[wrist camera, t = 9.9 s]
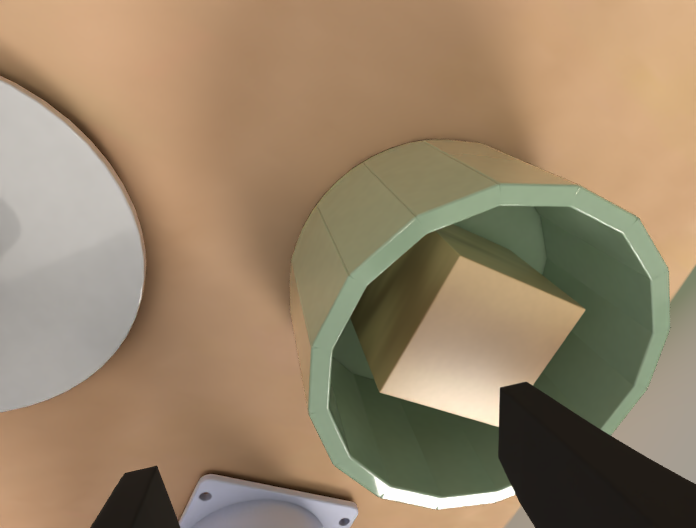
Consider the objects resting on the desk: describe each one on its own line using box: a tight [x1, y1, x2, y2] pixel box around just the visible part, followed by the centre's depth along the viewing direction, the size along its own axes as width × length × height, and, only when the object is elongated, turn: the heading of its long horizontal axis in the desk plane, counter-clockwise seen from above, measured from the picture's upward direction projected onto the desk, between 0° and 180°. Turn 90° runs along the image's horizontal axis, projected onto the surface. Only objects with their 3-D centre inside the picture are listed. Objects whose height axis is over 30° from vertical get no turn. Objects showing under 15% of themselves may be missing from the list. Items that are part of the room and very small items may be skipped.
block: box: [350, 224, 586, 427], centre depth 18 cm, size 5×5×5 cm
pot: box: [289, 139, 670, 510], centre depth 18 cm, size 11×11×6 cm
